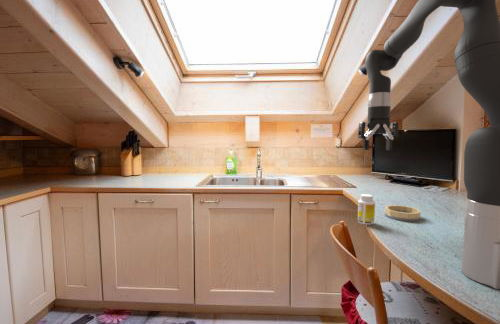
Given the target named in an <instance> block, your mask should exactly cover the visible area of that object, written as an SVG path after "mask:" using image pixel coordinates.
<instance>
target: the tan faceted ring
mask: <svg viewBox="0 0 500 324" xmlns="http://www.w3.org/2000/svg"><path fill="white" fill-rule="evenodd" d="M384 216H385V217H387V218H389V219H392V220H395V221H401V222H408V223H409V222H419V221H420V220H421V211H420V209H418V208H416V207H412V206H407V205H398V204H397V205H395V204H391V205H390V204H389V205H386V206H385V211H384Z"/></svg>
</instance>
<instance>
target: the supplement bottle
mask: <svg viewBox="0 0 500 324" xmlns="http://www.w3.org/2000/svg"><path fill="white" fill-rule="evenodd" d="M373 199H374V196H373V194H368V193H366V194H365V193H364V194H363V193H362V194H360V199H358V200H357V201H358V202H357V222H358V223H359V224H360V225H365V226H366V225H367V226H371V225H374V224H375V213H376V212H375V207H376V202H375V200H373Z"/></svg>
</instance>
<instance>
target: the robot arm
mask: <svg viewBox="0 0 500 324" xmlns="http://www.w3.org/2000/svg"><path fill="white" fill-rule="evenodd" d="M440 7H443V8H444V7H445V8H447V7H448V8H457V9H458V10H459V12H460V14H461V17H462V20H463V21H462V22H463V30H462V33H461V36H460V37H459V40H458V42H457V44H456V47H455V49H454V53H453V59H454V64H455V68H456V72H457V77H458V81H459V82H460V84H461V85H462V87H463V88H464V90H465V91H466V92H467V93H468V94H469V96H471V98H472V99H473V100H475V101H476V103H477V104H478V105H479V106H480V107H481V108H482V109H483V111H484V114H485V115H486V118H487V120H488V123H489V126H486V127H481V128H478V129H476V130H474V131H473V132H472V133H471V134H470V135H469V136H468V138H467V140H466V142H465V146H464V153H463V183H464V187H465V191H466V204H465V205H466V206H465V217H464V231H463V241H462V254H461V256H462V258H461V265H460V266H461V268H460V269H461V273H462V274H463V275H464V276H466V277H467V278H469V279H470V280H473V281H475V282H478V283H480V284H482V285H487V286H489V287H491V288H494V289H495V290H499V289H500V18H499V12H498V10H497V9H498V8H497V3H496V0H417V2H416V3H415V5H414V6H413V8H412V9H411V11H410V12H409V14H408V16H407V17H406V18H405V19H404V20H403V22H402V23H401V24H400V25H399V26H398V27H397V29H396V30H395V31H394V32H393V33H392V34H391V35H390V36H389V37H388V38H387V39H386V41H385V42H384V44H383V45H384V46H383V49H372V50H370V51H369V52H368V53H367V55H366V58H365V60H364V61H365V62H364V65H365V66H364V67H365V71H366V74H367V79H368V82H369V91H368V92H369V94H368V101H367V102H368V103H367V122H365V121H361V122H359V124H358V133H357V138H358V139H361V140H362V149H363V150H364V151H369V150H370V138H371V137H372V136H373V135H376V134H379V135H382V136H384V138H385V139H386V140H385V150H386V151H391V150H392V149H393V143H394V142H393V140H395V139H398V138H399V122H397V121H395V122H391V121H390V119H391V109H392V108H391V105H392V98H391V97H392V96H391V88H392V85H391V84H392V80H391V78H390V77H389V76H386V75H384V74H382V72H385V71H386V72H388V71H390V70H393V69H394V68H395V67H397V64H398V63H399V61H400V60H401V58H402V56H403V55H404V53H406V52H407V50H409V49H410V48H411V47H412V46H413V45H414V44H415V43H416V42H417V41H418V39H420V37H421V35H422V32H423V29H424V25H425V23H426V19H427V18H428V17H429V16H430V15H431V14H432V13H433V12H435V11H436V10H437V9H438V8H440ZM366 128H368V129H367V130H366ZM389 128H390V129H389ZM365 131H366V132H365Z"/></svg>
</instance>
